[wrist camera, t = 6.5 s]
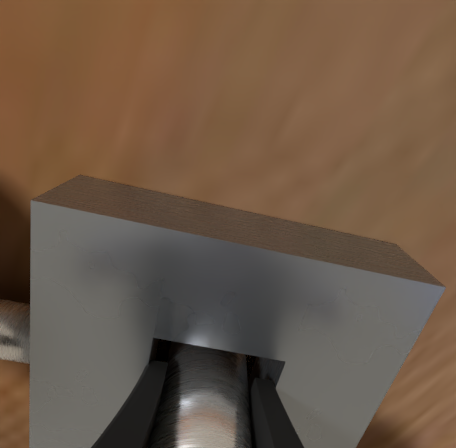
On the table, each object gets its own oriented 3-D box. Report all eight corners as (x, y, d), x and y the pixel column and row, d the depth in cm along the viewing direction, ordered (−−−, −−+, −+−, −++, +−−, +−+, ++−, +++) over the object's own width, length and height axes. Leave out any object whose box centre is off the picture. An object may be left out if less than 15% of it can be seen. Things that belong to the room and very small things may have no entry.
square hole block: (396, 244, 12) (445, 287, 9) (300, 448, 17) (315, 520, 14) (-166, 121, 11) (-307, 129, 8) (-111, 384, 15) (-189, 450, 12)
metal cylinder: (252, 331, 13) (271, 513, 7) (238, 388, 14) (245, 582, 8) (173, 320, 13) (131, 500, 7) (165, 379, 14) (124, 572, 8)
